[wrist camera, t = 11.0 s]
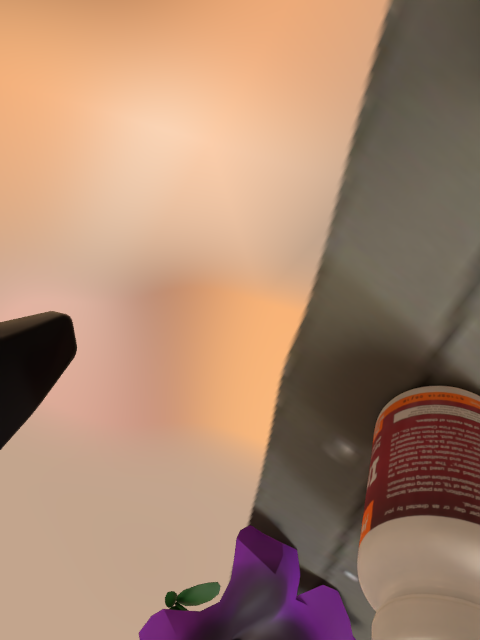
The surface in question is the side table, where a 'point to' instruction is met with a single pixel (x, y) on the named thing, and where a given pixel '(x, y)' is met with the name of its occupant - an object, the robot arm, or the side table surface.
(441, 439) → the pill bottle
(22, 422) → the robot arm
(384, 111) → the side table surface
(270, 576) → the flower
